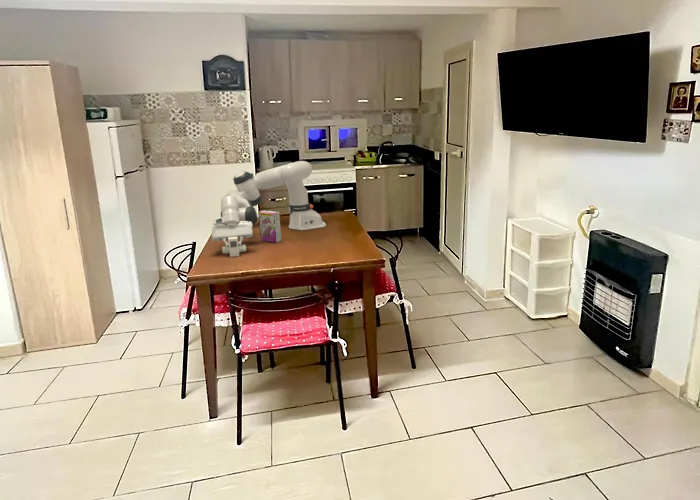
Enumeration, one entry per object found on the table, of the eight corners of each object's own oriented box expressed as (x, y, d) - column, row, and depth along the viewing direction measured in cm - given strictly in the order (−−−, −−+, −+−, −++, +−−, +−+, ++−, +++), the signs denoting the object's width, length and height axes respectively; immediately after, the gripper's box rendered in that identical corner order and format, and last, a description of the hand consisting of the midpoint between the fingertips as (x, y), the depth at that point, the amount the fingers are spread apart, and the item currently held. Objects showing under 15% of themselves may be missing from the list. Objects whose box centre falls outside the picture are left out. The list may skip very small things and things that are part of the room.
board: (245, 245, 260) (245, 244, 260) (246, 251, 249) (246, 250, 249) (222, 247, 258) (222, 246, 258) (222, 253, 247) (222, 252, 246)
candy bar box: (260, 241, 267) (257, 211, 262) (266, 238, 271) (263, 210, 266) (276, 243, 262) (273, 213, 257) (282, 241, 266) (279, 211, 261)
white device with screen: (239, 253, 246) (237, 236, 243) (239, 255, 242) (237, 238, 239) (230, 254, 245) (228, 237, 242) (230, 256, 241) (228, 239, 238)
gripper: (252, 223, 253) (255, 246, 246) (211, 227, 248) (213, 251, 242) (251, 217, 247) (254, 240, 241) (210, 221, 243) (212, 244, 236)
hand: (233, 245), depth 241 cm, fingers closed on white device with screen, 4 cm apart
